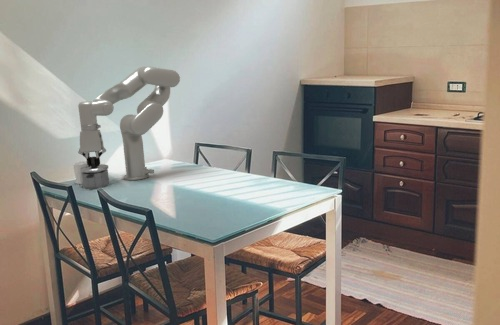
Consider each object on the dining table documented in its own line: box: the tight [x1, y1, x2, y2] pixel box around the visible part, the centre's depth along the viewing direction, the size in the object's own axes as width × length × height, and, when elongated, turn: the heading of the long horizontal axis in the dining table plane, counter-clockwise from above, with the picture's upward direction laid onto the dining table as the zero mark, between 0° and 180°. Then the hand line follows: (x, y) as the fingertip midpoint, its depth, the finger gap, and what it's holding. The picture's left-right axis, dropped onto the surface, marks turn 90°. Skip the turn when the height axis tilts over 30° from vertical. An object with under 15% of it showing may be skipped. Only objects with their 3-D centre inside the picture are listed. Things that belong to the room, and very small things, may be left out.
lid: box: [80, 156, 109, 174], centre depth 256 cm, size 13×13×8 cm
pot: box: [81, 169, 110, 190], centre depth 258 cm, size 12×17×7 cm
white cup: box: [72, 160, 88, 185], centre depth 264 cm, size 8×8×10 cm
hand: (93, 165), depth 256 cm, fingers open, 3 cm apart
